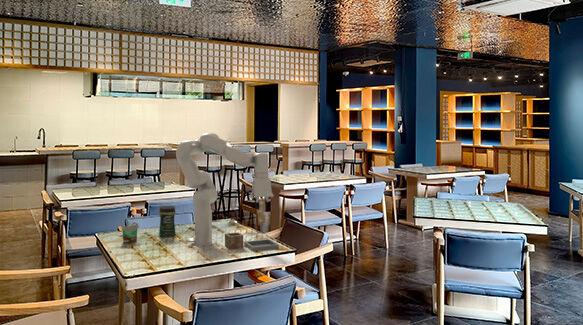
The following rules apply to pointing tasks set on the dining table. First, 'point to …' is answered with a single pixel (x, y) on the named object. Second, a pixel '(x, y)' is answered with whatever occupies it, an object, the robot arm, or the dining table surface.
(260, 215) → the beech pin
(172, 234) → the coffee jar
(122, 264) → the dining table surface
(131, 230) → the food container
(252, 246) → the charcoal tray
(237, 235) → the brown wooden cube
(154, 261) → the dining table surface
